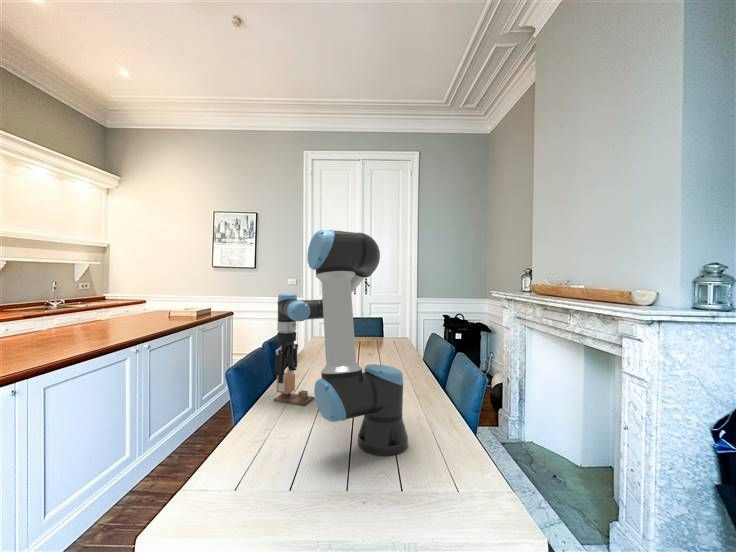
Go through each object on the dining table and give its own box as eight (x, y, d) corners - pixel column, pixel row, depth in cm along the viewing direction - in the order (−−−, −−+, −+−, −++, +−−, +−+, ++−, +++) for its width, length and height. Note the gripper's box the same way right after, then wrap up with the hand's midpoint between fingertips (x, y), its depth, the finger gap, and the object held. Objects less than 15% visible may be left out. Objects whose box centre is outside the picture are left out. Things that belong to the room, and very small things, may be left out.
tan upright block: (287, 394, 137) (287, 377, 137) (276, 392, 139) (276, 375, 139) (294, 390, 142) (295, 374, 142) (284, 388, 144) (284, 372, 144)
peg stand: (314, 399, 140) (314, 380, 140) (304, 406, 132) (304, 386, 132) (285, 394, 145) (285, 376, 145) (273, 401, 137) (274, 382, 137)
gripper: (281, 335, 130) (280, 397, 130) (306, 328, 147) (305, 383, 147) (265, 334, 133) (264, 394, 133) (291, 327, 150) (290, 380, 150)
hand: (286, 388), depth 140 cm, fingers closed on tan upright block, 5 cm apart
